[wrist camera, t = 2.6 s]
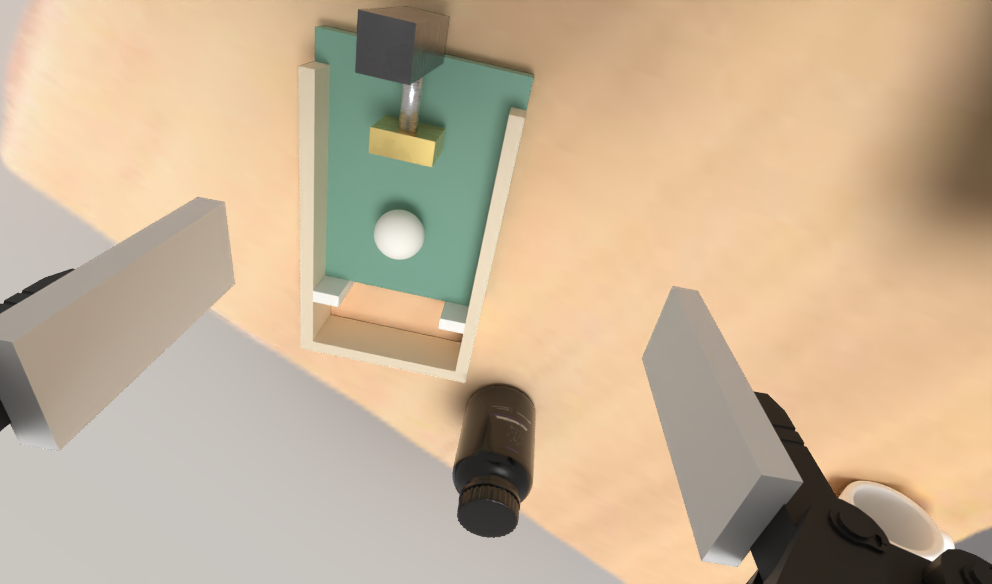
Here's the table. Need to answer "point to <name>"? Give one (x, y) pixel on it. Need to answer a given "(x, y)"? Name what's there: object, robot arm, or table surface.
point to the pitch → (402, 201)
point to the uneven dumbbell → (402, 76)
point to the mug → (899, 518)
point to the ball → (399, 234)
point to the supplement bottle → (494, 460)
